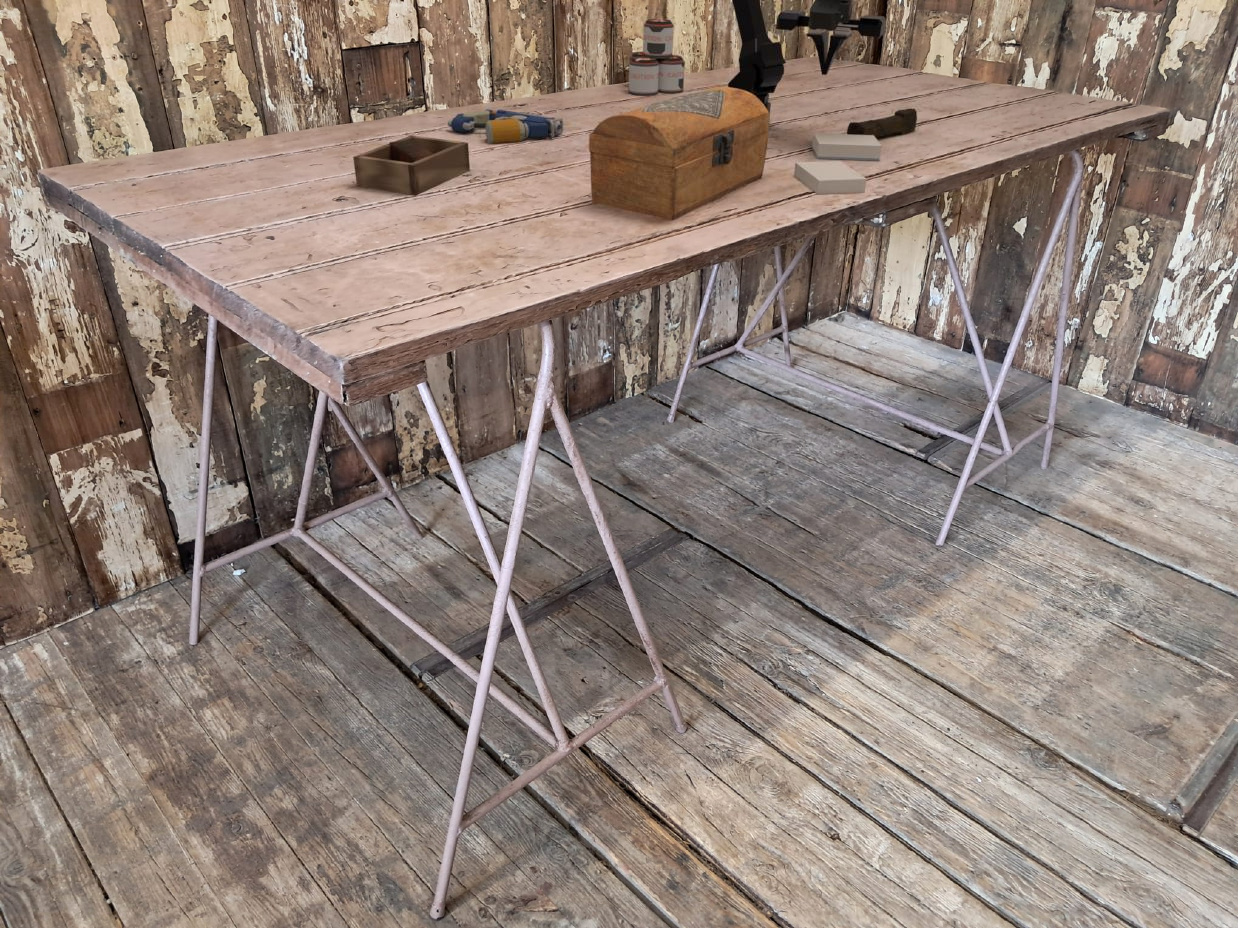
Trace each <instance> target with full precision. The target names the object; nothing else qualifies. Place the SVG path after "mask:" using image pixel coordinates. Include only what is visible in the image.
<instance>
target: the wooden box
mask: <svg viewBox="0 0 1238 928" xmlns="http://www.w3.org/2000/svg"><path fill="white" fill-rule="evenodd" d="M770 117H771V115H770V116H769V112H768V110H767V109H766V107H765V106H764V104H763V103H762V102H761V101H760V100H759V99H758V98H757V97H756V96H755V95H753V94H752V93H750V92H747V91H744V90H741V89H737V88H731V87H728V86H717V87H711V88H707V89H704V90H700V91H695V92H693V93H687V94H682V95H679V96H675V97H672V98H668V99H667V98H666V99H663V100H661V101H657V102H653V103H651V104H647V105H644V106H643V107H640V108H637V109H634V110H630V111H627V112H624V113H621V114H616V115H612V116H609V117H607V118H605V119H604V120H602V121H600V122H599V123H598V124H597V125H596V126H595V128H594V130H593V131H592V132H590V133H588V134H589V137H588V151H589V154H590V156H589V157H590V159H589V161H590V189H591V190H590V191H591V192H590V193H591V200H592V201H591V202H592V203H594V204H599V205H603V206H606V207H607V206H608V207H612V208H616V209H620V210H624V211H629V212H634V213H638V214H643V215H646V216H652V217H655V218H661V219H665V220H669V221H674V220H677V219H679V218H681V217H683V216H685V215H687V214H689V213H691V212H693V211H695V210H697V209H699V208H701V207H703V206H705V205H707V204H709V203H711V202H714V201H715V200H717V199H720V198H722V197H724V196H726V195H728V194H730V193H732V192H733V191H734V192H735V191H736V190H738V189H740V187H741V188H742V187H745V186H748V185H749V184H751V183H754V182H755V181H757V180H760V179H761V178H762V177H763V174H764V169H765V164H766V163H765V162H766V158H767V157H766V156H767V149H768V141H769V129H770V119H771V118H770ZM753 181H754V182H753Z"/></svg>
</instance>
